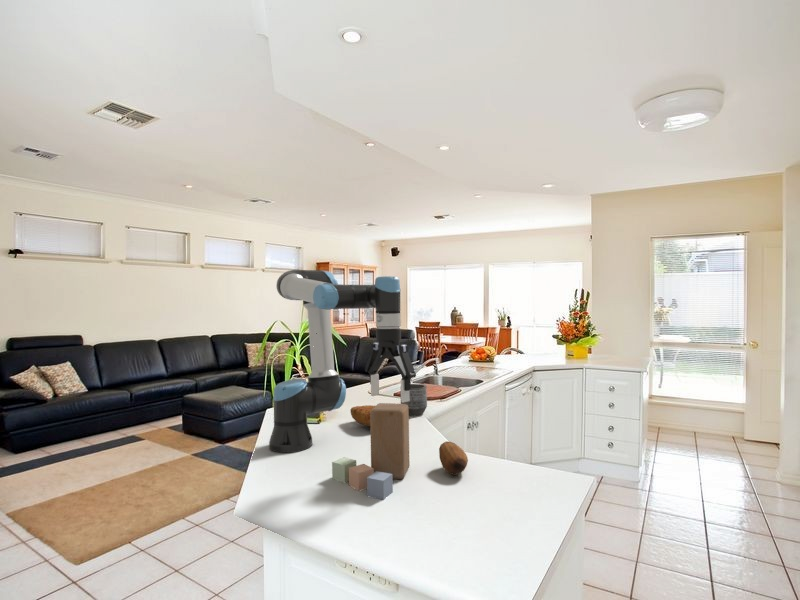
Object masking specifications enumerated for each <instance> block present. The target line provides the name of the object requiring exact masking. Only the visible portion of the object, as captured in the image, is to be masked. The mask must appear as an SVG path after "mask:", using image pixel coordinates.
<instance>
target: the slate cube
mask: <svg viewBox="0 0 800 600" xmlns="http://www.w3.org/2000/svg"><path fill="white" fill-rule="evenodd" d="M393 483H394V482H393V478H392V474H390V473H384V472H378V471H376V472H374V473H373V474H372V475H370V476H369V477H367V489H366V497H368V496H369V498H373V499H379V500H383V501H384V500H386V499H387V498H388V497H389V496H390V495H392V493H394V489H393V488H394V485H393ZM386 497H387V498H386Z"/></svg>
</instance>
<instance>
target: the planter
mask: <svg viewBox="0 0 800 600" xmlns="http://www.w3.org/2000/svg"><path fill="white" fill-rule="evenodd" d="M409 392H410V401H408V402H403V403H402V402H401V401H400V404H407V405H408V407H409V417H419V416H422V415H424V413H425V411H426V410H427V407H428V391H427V385H425V384H421V383H411V389H410V390H409Z"/></svg>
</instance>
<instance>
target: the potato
mask: <svg viewBox="0 0 800 600" xmlns="http://www.w3.org/2000/svg"><path fill="white" fill-rule="evenodd" d="M438 449H439V450H438V454H439V455H438V456H439V461H440V463H441V465H442V468H443V469H444V471H445V472H446V473H448V474H449V475H454V476H457V475H458V474H461V473H462V472H464V471H465V469H467V466H468V462H469V459H468V455H467V453H466V452H465V451H464V449H462V447H460V446H459V445H457V444H456V443H455V442H452V441H444V442H443V443H441V444H440V446H439V448H438Z"/></svg>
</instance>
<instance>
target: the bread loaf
mask: <svg viewBox="0 0 800 600" xmlns="http://www.w3.org/2000/svg"><path fill="white" fill-rule="evenodd" d="M375 406H376V405H366V404H365V405H357V406H353V407H351V408H350V415H351V417H352V419H353V420H354V421H356V422H357V423H359V424H360V425H363V426H368V427H370V412H371V410H372V409H373V408H374V407H375Z"/></svg>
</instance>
